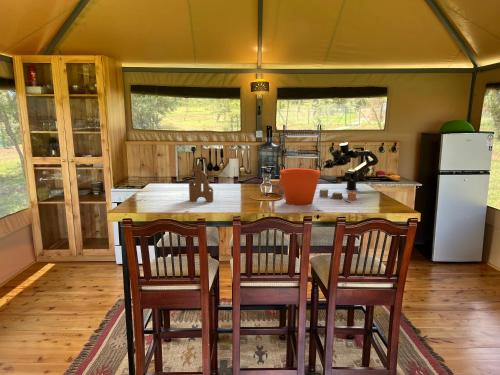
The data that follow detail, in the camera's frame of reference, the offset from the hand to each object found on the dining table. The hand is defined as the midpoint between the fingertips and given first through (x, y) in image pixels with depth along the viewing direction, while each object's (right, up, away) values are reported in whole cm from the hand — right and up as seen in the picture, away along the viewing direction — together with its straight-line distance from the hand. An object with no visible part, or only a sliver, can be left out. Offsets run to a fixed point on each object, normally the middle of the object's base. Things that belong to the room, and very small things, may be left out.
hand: (328, 166), depth 243 cm
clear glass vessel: (-32, -19, +3) cm, 37 cm away
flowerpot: (-24, -24, -25) cm, 42 cm away
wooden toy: (-85, -23, -22) cm, 91 cm away
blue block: (-5, -21, -6) cm, 22 cm away
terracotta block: (+12, -22, -16) cm, 30 cm away
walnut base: (+3, -22, -12) cm, 25 cm away
